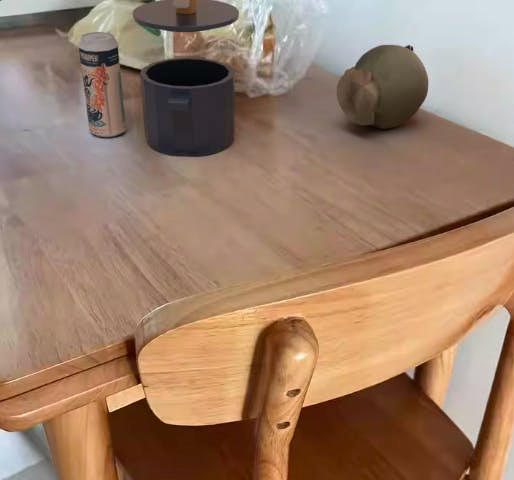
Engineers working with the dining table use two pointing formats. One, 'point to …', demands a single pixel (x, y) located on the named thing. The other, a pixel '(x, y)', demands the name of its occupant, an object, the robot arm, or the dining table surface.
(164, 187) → the dining table surface
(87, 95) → the beer can
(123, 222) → the dining table surface
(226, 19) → the lid
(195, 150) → the pot
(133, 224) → the dining table surface
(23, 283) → the dining table surface
